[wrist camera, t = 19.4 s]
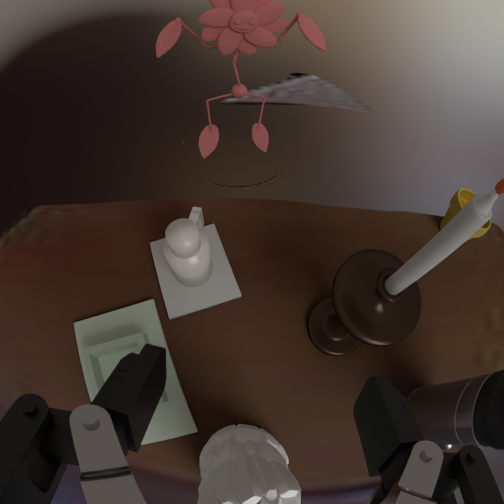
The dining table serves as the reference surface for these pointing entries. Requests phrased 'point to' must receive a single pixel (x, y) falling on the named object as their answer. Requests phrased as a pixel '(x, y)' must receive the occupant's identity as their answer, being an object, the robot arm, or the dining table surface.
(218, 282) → the grey mat
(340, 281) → the candlestick
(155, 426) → the tray
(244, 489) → the decorative vase
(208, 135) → the figurine
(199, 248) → the cream jug
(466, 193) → the plant pot
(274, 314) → the dining table surface
